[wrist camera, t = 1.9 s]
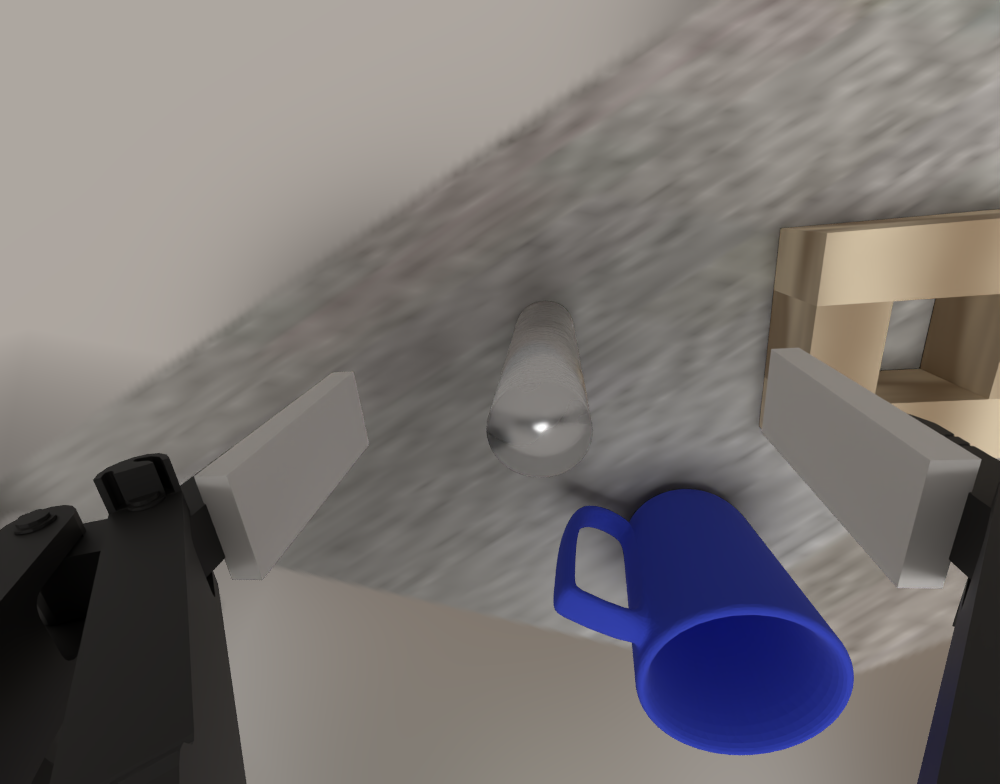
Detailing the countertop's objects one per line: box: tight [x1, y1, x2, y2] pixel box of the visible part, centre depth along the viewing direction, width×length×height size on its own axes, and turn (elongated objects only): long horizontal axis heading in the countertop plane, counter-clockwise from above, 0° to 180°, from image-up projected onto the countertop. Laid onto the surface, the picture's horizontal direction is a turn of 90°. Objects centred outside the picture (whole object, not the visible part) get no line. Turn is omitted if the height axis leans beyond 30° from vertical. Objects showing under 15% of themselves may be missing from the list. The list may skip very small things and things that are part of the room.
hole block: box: [759, 209, 1000, 458], centre depth 21 cm, size 10×10×4 cm
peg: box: [487, 301, 592, 478], centre depth 19 cm, size 3×3×12 cm
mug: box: [554, 489, 854, 755], centre depth 24 cm, size 8×12×10 cm
